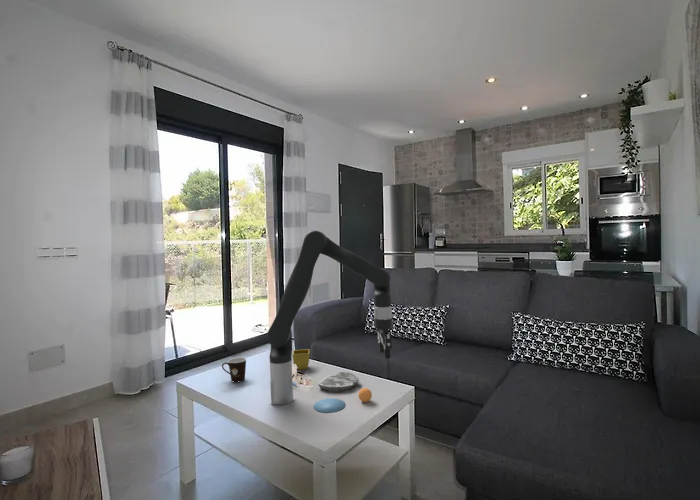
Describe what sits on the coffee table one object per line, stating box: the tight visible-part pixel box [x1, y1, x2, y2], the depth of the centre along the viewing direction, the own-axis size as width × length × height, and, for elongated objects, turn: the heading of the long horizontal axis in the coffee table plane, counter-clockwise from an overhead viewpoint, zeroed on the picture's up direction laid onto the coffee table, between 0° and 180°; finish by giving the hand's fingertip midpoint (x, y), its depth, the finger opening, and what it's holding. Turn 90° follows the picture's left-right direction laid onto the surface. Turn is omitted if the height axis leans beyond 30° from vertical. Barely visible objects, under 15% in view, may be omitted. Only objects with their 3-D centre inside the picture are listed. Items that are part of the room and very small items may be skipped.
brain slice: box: [318, 371, 360, 393], centre depth 177 cm, size 20×17×3 cm
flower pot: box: [292, 348, 310, 371], centre depth 203 cm, size 9×9×9 cm
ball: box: [358, 387, 373, 403], centre depth 158 cm, size 6×6×6 cm
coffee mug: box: [221, 357, 247, 383], centre depth 190 cm, size 12×9×10 cm
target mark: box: [313, 397, 346, 414], centre depth 155 cm, size 13×13×1 cm
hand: (384, 355), depth 160 cm, fingers open, 8 cm apart
